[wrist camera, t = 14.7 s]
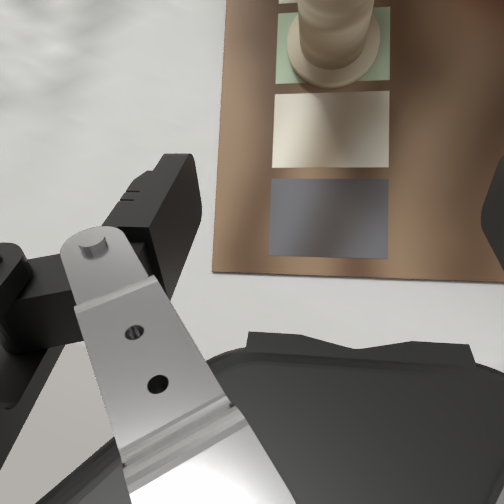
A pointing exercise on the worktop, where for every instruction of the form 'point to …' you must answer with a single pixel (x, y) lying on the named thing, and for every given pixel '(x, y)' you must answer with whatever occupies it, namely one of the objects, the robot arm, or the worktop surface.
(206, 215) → the worktop surface
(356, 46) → the birch pawn
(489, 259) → the game board
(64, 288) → the robot arm
